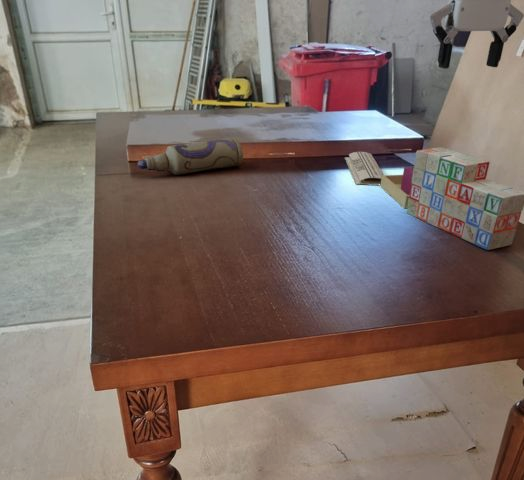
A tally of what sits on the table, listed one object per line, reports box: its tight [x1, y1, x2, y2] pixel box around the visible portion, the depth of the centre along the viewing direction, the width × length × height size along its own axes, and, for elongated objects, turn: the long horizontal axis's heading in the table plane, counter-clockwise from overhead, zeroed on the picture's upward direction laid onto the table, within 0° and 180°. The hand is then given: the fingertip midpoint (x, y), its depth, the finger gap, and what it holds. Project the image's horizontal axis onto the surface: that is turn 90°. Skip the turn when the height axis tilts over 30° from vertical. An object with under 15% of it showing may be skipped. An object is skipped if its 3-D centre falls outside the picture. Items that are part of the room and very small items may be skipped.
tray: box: [379, 174, 410, 209], centre depth 114 cm, size 11×15×3 cm
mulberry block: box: [401, 166, 414, 195], centre depth 113 cm, size 5×5×5 cm
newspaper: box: [344, 151, 384, 186], centre depth 130 cm, size 24×7×2 cm, turn 179°
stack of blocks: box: [406, 146, 524, 251], centre depth 95 cm, size 21×6×12 cm, turn 27°
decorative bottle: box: [136, 137, 244, 176], centre depth 125 cm, size 26×8×7 cm, turn 119°
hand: (467, 67), depth 99 cm, fingers open, 9 cm apart
